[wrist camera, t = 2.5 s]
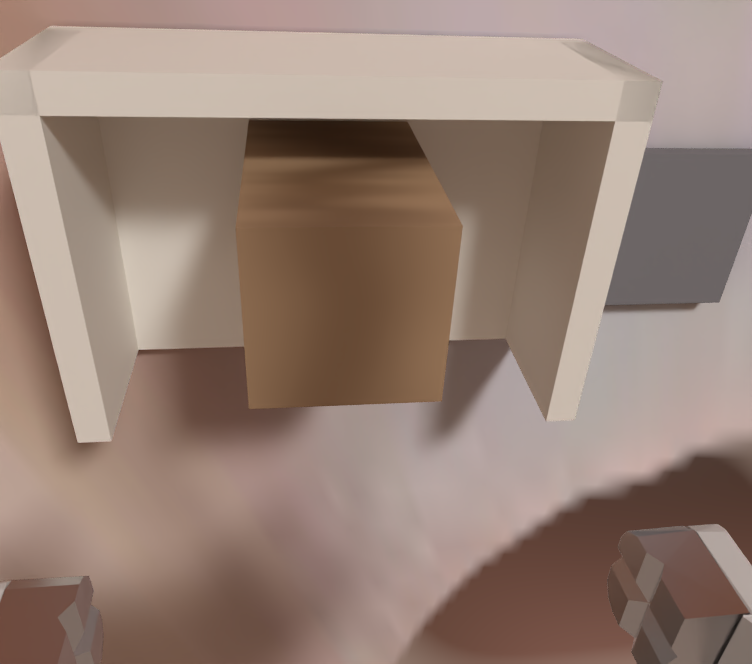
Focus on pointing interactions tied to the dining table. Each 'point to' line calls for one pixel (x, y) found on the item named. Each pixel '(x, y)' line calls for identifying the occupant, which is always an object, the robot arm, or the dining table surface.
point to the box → (311, 103)
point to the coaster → (683, 226)
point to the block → (343, 265)
